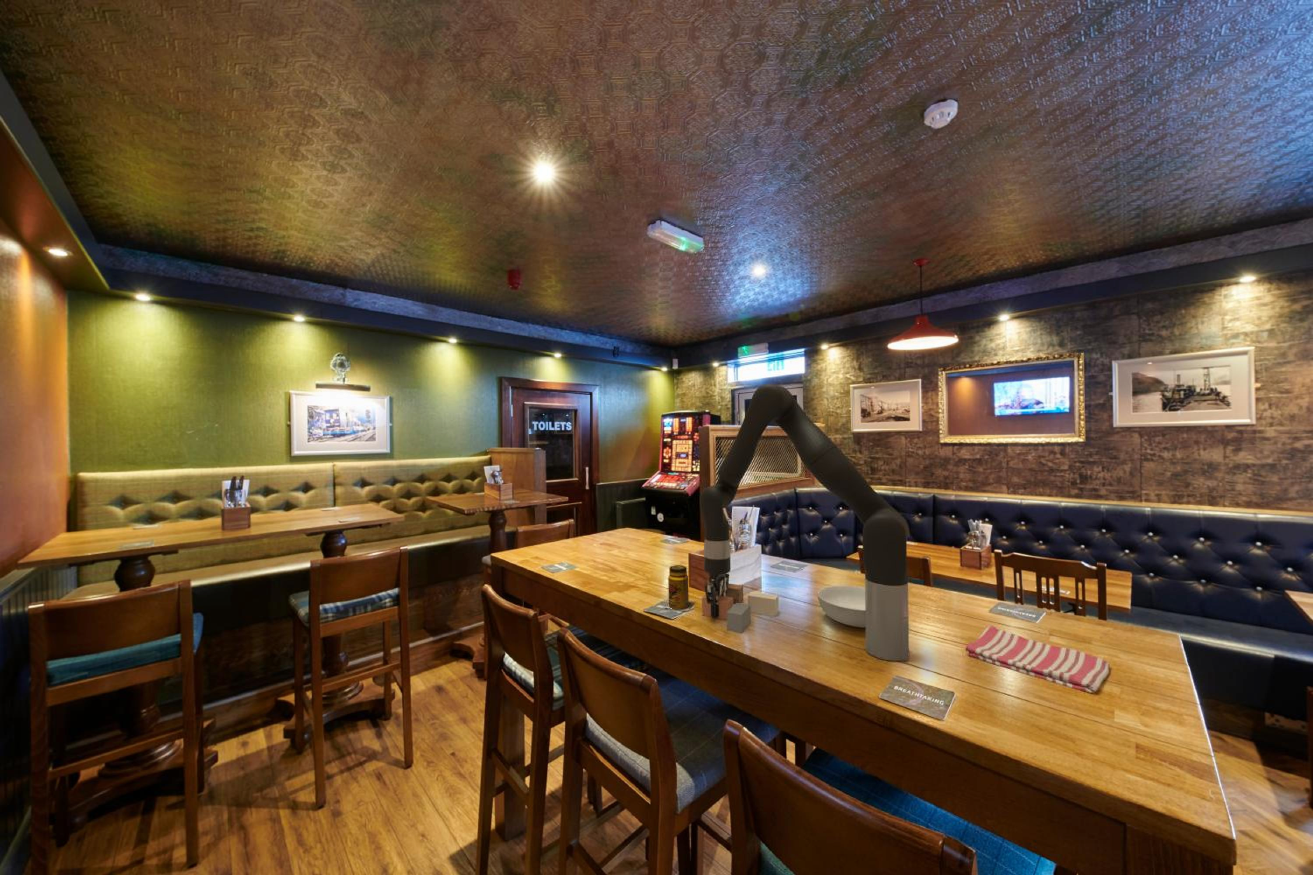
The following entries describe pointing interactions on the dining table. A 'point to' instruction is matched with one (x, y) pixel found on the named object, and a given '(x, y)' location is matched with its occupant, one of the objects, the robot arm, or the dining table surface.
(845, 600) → the serving bowl
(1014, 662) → the dish towel
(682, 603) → the condiment
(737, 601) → the walnut brick
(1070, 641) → the dining table surface
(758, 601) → the cream brick
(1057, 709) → the dining table surface
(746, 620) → the slate brick
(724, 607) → the terracotta brick
